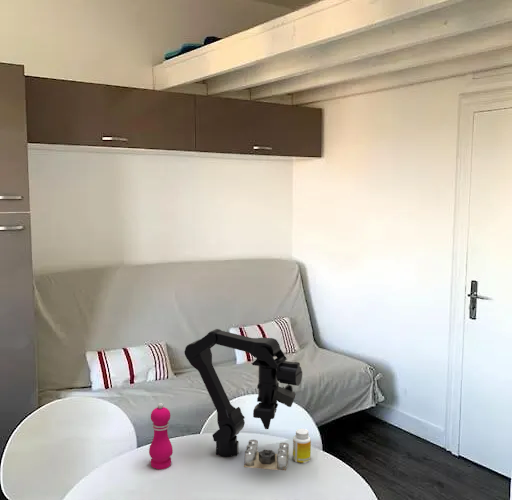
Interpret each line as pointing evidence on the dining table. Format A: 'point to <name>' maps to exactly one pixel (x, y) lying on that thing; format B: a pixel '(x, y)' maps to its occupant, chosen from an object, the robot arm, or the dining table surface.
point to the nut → (266, 457)
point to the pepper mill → (160, 438)
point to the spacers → (253, 451)
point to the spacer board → (264, 466)
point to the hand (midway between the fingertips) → (267, 428)
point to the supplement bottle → (301, 446)
